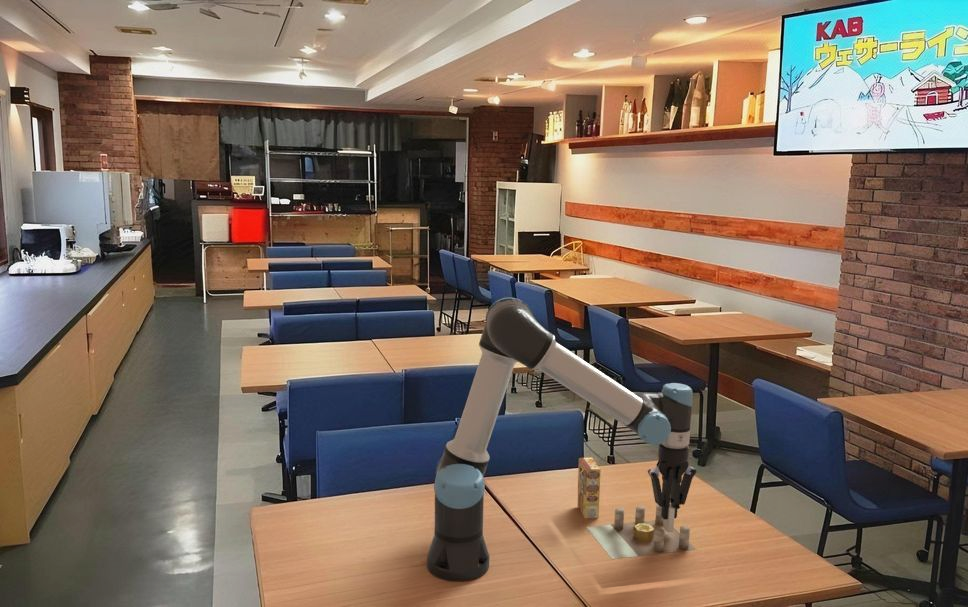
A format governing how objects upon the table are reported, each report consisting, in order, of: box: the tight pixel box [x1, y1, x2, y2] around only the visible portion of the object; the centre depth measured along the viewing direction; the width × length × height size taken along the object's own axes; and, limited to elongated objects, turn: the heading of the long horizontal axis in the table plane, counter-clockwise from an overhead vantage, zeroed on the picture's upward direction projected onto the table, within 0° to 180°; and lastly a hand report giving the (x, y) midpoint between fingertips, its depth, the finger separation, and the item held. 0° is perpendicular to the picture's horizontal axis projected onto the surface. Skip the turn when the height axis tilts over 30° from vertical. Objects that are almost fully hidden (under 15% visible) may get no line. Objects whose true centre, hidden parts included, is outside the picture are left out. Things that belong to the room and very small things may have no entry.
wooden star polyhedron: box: [633, 523, 654, 542], centre depth 191 cm, size 4×5×3 cm
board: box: [586, 503, 698, 560], centre depth 190 cm, size 23×17×6 cm
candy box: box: [576, 457, 602, 519], centre depth 205 cm, size 9×4×15 cm, turn 8°
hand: (668, 529), depth 192 cm, fingers closed
